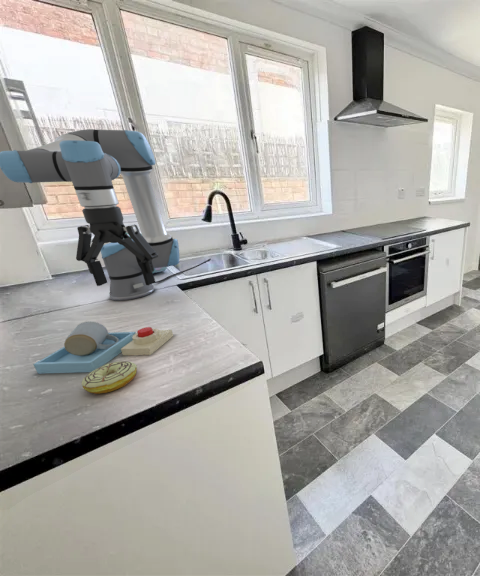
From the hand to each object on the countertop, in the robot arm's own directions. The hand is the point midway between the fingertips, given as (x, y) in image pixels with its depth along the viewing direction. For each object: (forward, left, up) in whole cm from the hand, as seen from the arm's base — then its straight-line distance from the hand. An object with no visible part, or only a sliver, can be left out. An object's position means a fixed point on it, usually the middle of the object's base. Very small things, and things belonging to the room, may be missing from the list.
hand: (126, 284), depth 87 cm
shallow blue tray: (+5, -13, -20) cm, 24 cm away
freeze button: (0, 0, -17) cm, 17 cm away
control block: (0, 0, -20) cm, 20 cm away
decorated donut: (+18, +3, -20) cm, 27 cm away
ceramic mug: (+2, -13, -19) cm, 23 cm away
